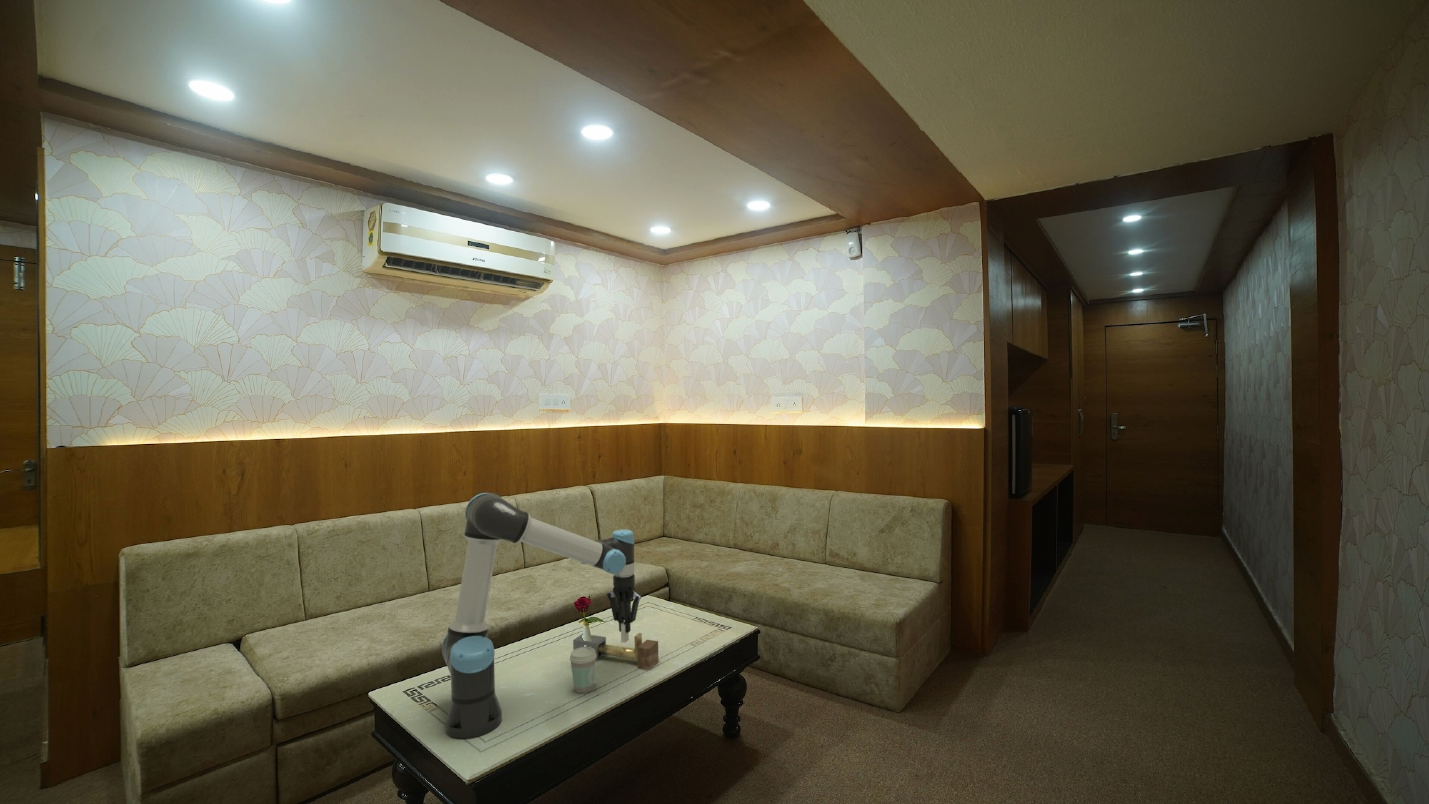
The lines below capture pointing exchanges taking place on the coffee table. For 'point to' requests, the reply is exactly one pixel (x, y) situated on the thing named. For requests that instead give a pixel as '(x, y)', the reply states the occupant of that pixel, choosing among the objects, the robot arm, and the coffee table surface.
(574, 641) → the sleeve
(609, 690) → the coffee table surface
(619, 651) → the tube
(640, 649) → the brown wooden block
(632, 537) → the robot arm
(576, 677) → the coffee cup
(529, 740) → the coffee table surface
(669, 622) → the coffee table surface
